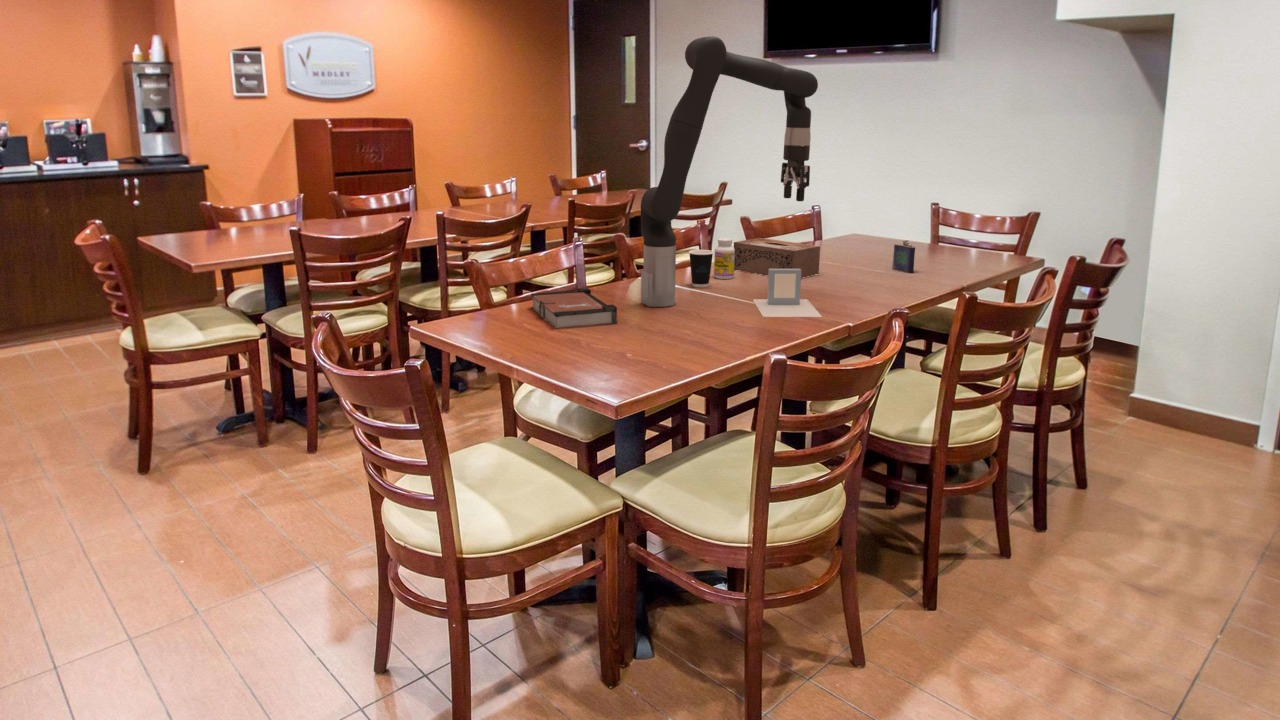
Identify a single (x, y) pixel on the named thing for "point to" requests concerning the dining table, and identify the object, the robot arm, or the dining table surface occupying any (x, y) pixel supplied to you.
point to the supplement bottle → (724, 259)
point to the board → (787, 309)
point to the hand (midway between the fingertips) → (793, 199)
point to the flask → (903, 257)
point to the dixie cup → (700, 267)
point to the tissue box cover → (776, 256)
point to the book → (573, 309)
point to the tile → (784, 286)
